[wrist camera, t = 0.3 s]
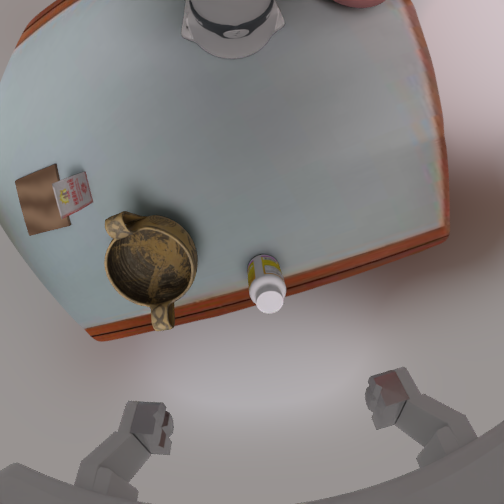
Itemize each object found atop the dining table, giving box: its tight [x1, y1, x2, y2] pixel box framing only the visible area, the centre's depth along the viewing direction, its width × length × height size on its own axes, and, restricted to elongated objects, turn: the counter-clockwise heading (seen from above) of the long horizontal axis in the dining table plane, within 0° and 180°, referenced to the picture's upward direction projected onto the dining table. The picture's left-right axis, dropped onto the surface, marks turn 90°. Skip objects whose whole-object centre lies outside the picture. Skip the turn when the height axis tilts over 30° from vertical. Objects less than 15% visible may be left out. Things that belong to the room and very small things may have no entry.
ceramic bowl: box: [105, 211, 197, 331], centre depth 49 cm, size 22×17×15 cm
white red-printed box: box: [52, 172, 93, 219], centre depth 46 cm, size 4×7×10 cm, turn 8°
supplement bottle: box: [247, 255, 286, 313], centre depth 53 cm, size 7×7×13 cm
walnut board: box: [15, 164, 71, 236], centre depth 50 cm, size 14×14×1 cm
